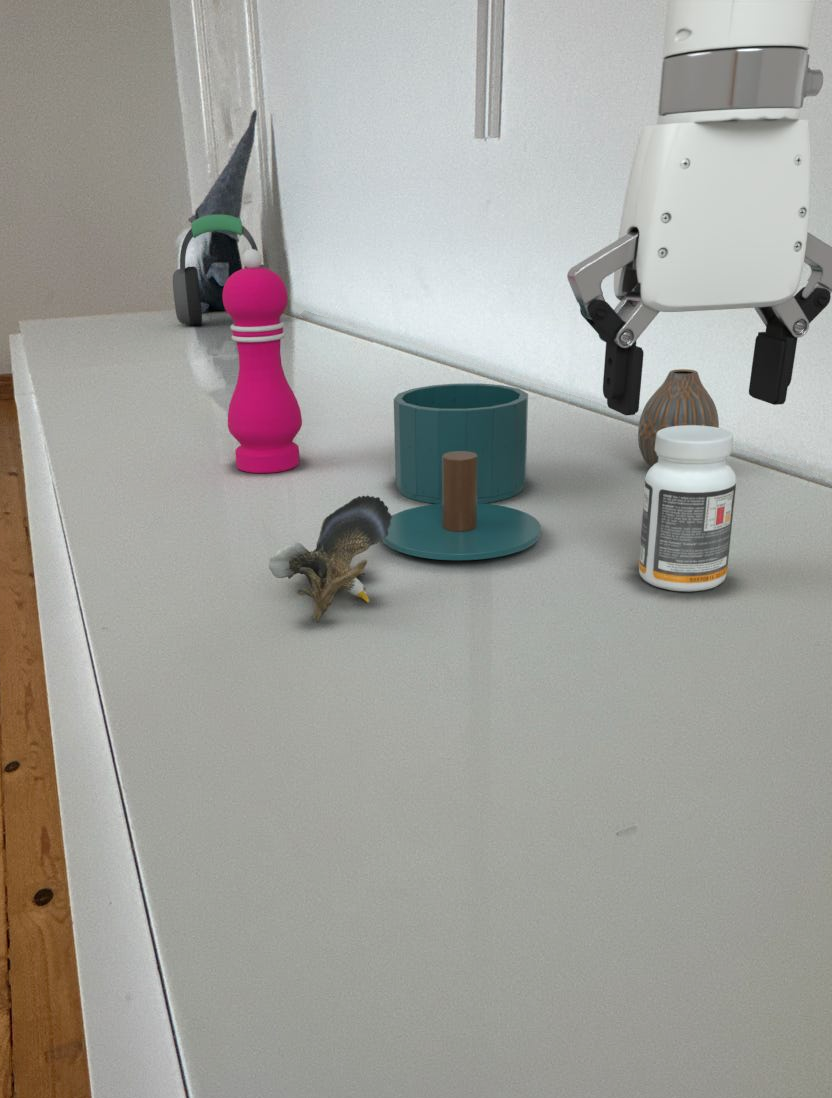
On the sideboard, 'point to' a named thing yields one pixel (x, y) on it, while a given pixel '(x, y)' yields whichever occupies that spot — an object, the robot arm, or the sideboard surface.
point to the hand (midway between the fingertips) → (694, 405)
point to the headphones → (188, 277)
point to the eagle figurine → (336, 552)
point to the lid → (461, 520)
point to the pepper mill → (260, 371)
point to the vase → (675, 409)
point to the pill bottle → (688, 509)
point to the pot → (461, 438)
